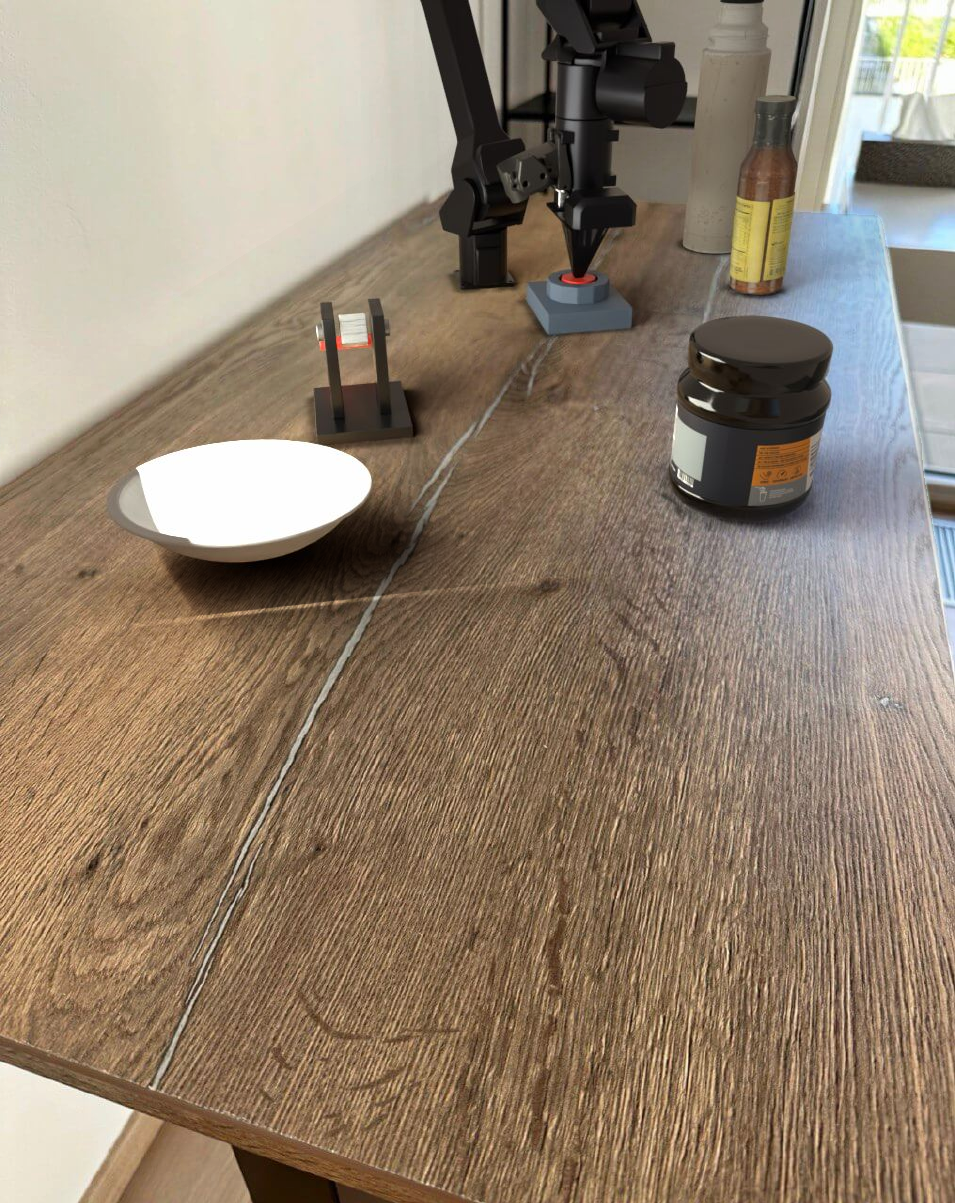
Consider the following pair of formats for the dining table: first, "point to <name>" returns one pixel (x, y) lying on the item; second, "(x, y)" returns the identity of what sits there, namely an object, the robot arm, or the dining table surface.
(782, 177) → the sauce bottle
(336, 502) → the dish
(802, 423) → the supplement container
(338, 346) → the lever
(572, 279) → the button
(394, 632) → the dining table surface
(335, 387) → the bracket
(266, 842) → the dining table surface
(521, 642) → the dining table surface
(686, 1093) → the dining table surface
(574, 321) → the button box
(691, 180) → the thermos bottle
